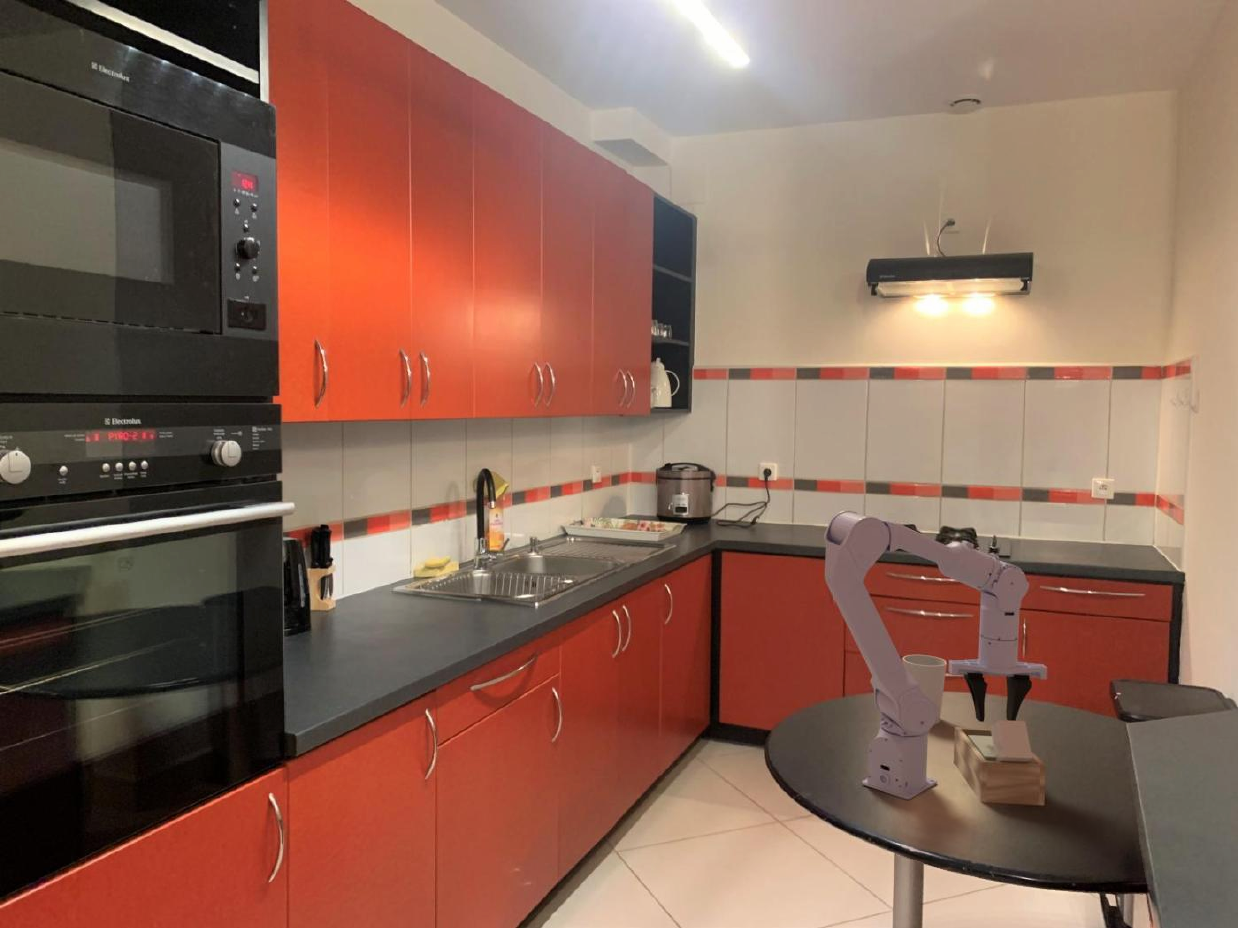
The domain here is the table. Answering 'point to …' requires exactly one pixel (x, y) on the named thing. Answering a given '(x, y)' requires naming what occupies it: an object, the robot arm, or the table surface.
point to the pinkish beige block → (1011, 741)
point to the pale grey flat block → (985, 746)
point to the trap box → (998, 773)
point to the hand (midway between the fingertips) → (995, 720)
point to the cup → (928, 676)
